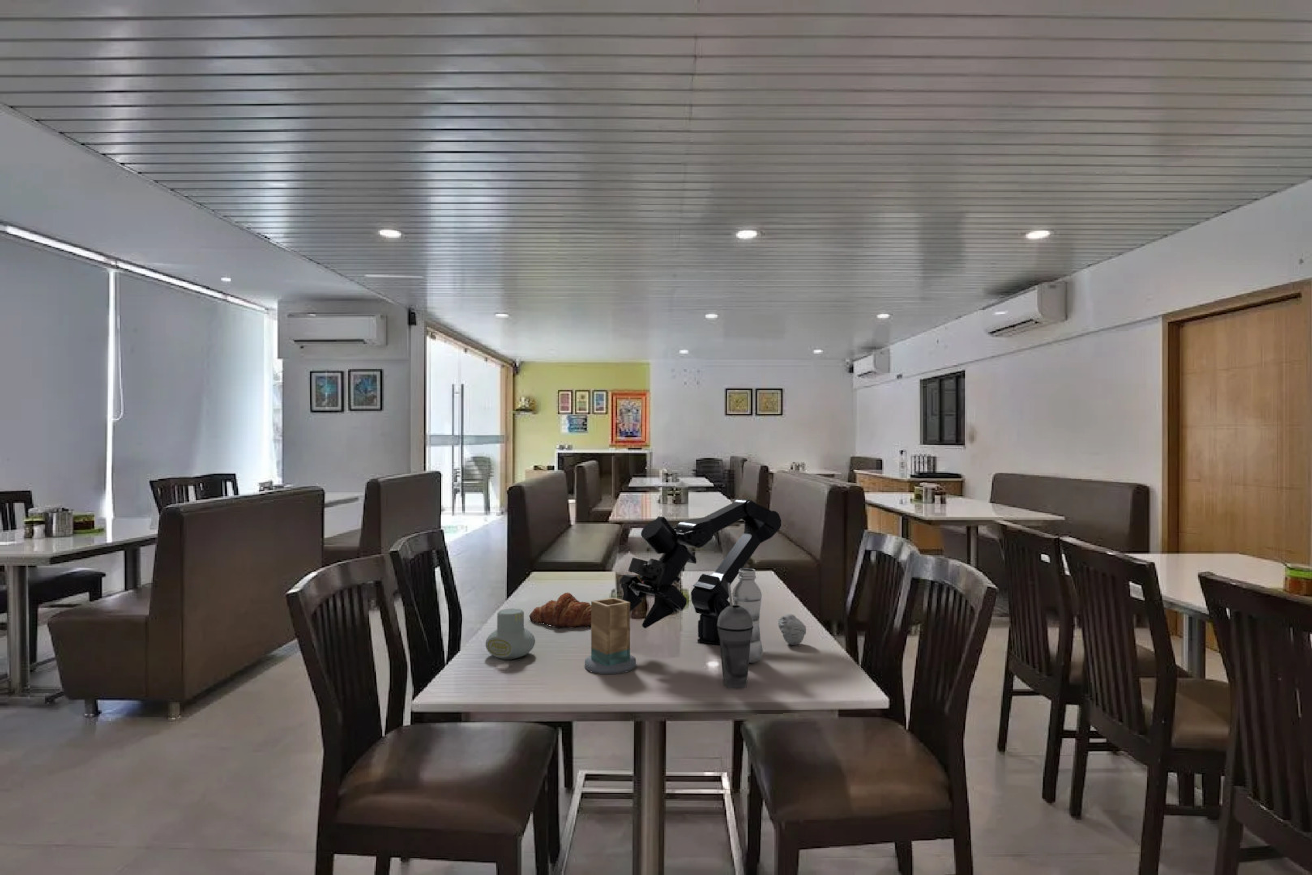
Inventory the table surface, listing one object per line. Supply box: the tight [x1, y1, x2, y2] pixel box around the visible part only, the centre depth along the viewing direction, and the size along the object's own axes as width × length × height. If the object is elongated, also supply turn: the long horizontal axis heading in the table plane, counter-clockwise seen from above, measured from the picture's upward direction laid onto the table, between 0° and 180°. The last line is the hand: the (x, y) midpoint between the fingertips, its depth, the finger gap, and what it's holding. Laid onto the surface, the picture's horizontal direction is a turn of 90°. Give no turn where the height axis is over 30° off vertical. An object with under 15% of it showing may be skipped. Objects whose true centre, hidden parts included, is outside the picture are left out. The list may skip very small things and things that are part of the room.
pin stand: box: [584, 654, 637, 675], centre depth 144 cm, size 11×11×5 cm
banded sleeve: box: [590, 597, 631, 666], centre depth 144 cm, size 6×6×12 cm
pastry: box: [529, 592, 591, 628], centre depth 180 cm, size 17×15×8 cm
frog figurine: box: [777, 613, 807, 646], centre depth 160 cm, size 6×7×7 cm
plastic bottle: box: [731, 568, 763, 664], centre depth 147 cm, size 6×7×20 cm
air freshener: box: [485, 608, 536, 661], centre depth 152 cm, size 11×8×10 cm
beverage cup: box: [717, 583, 753, 690], centre depth 133 cm, size 7×7×20 cm
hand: (630, 622), depth 148 cm, fingers open, 9 cm apart
